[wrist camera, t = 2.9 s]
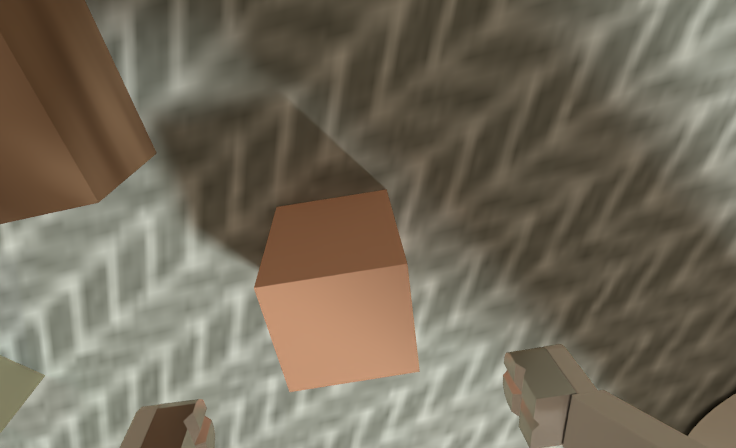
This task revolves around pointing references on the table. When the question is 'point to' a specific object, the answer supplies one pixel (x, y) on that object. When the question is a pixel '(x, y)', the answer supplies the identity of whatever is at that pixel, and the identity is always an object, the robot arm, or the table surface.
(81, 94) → the walnut block
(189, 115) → the table surface
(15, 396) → the sage block
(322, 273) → the terracotta block
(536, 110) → the table surface
